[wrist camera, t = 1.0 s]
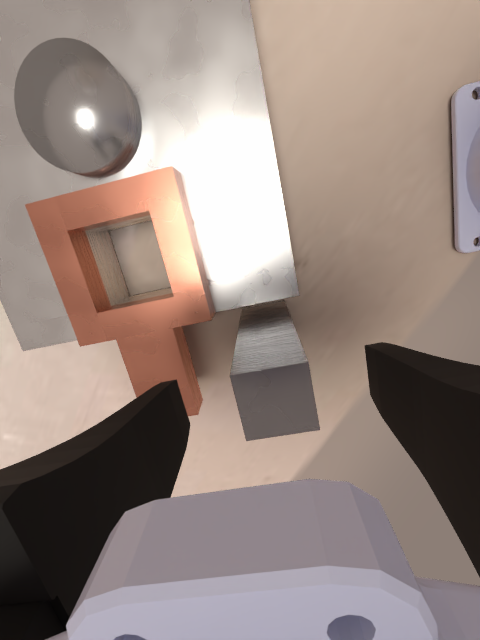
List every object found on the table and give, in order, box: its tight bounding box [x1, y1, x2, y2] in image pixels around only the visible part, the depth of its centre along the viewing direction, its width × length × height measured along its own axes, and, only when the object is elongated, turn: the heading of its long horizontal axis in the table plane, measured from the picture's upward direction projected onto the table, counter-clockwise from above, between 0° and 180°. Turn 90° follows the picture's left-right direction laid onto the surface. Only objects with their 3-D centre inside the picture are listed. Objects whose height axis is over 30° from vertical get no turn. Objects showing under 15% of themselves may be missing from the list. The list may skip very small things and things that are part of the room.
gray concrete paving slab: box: [0, 0, 299, 416], centre depth 15 cm, size 16×25×4 cm, turn 12°
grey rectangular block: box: [230, 300, 320, 441], centre depth 15 cm, size 3×3×9 cm
